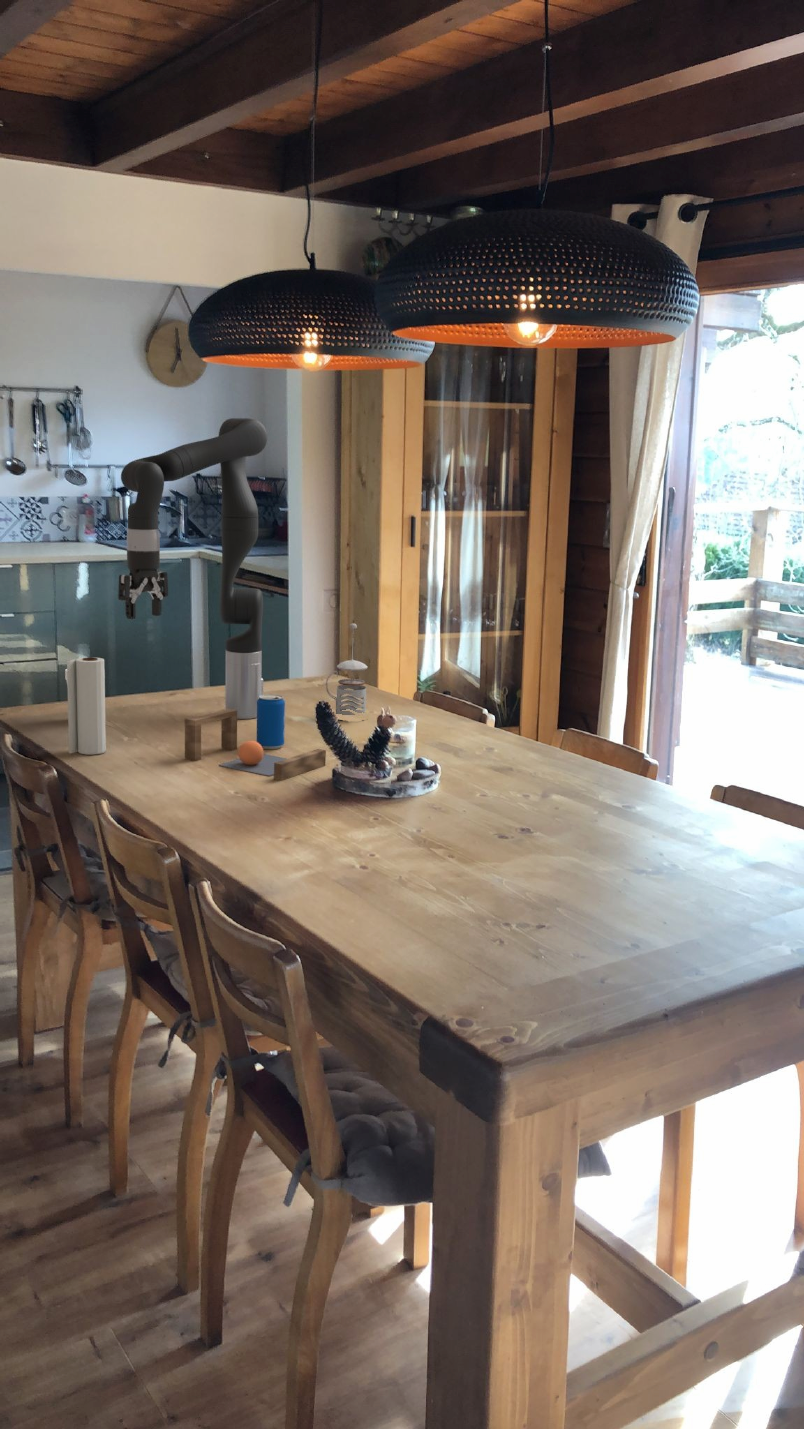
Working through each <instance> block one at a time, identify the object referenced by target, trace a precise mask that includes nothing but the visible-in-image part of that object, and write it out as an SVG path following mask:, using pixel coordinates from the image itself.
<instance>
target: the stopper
mask: <svg viewBox="0 0 804 1429" xmlns="http://www.w3.org/2000/svg"><path fill="white" fill-rule="evenodd" d="M326 752H327V751H326V749H322V748H316V749H313V750H311V751H308V752H307V751H306V752H305V753H304V752H303V753H301V754H297V755H294V756H292V757H289V758H287V759H285V760H282V761H279V762H275V763H274V775H273V779H274V780H277V781H284V780H287V779H291V778H293V777H296V776H299V775H301V774H305V773H307V772H311V771H313V770H316V769H319V768H322V767H325V766H326V758H327V756H326Z"/></svg>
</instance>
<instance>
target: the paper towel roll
mask: <svg viewBox="0 0 804 1429" xmlns="http://www.w3.org/2000/svg"><path fill="white" fill-rule="evenodd" d="M66 669H67V681H66V686H67V685H68V687H67V717H68V718H67V719H68V753H69V754H73V753H76V752H78V753H79V754H82V755H93V756H94V755H101V754H103V753H106V752H107V746H106V745H107V740H106V685H105V684H106V681H105V679H106V672H104V669H105V659H104V658H101V657H92V656H90V657H80V658H79V657H78V658H73V659H71V660H67V661H66Z"/></svg>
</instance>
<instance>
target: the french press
mask: <svg viewBox="0 0 804 1429" xmlns="http://www.w3.org/2000/svg"><path fill="white" fill-rule="evenodd" d="M357 628H358V627H357V624H356V623H350V624H349V629H352V633H354V632H355V631H354V629H357ZM351 645H352V646H351V647H352V648H351V649H352V650H351V653H352V654H351V659H350V660H344V661H342V662H340V663H339V664H337V665H336V668H337V669H339V670H343V671H351V672H354V671H366V670H367V669H368V668H369V667H368V666H367V664H365V663H363V662H361V661H359V660H355V659H354V639H352V643H351ZM333 674H336V677H337V678H338V676H339V671H338V670H334V671H332V672H330V673H329V674H328V676H327V677H326V681H325V689H326V690H325V691H326V693H327V695H328V696H329V697H330V698H332V699H334V700H335V714H342V715H355V714H354V713H352V712H350V711H342V710H346V709H350V710H353V711H355V712H357V713H362V712H363V713H365V712H366V713H367V687H366V686H364V685H365V684H366V681H365V680H362V679H358V678H356V679H355V678H353V677H351V678H342V679H339V680H338V681H337V682H338V684H339V685H338V686H337V688H336V696H335V695H333V694H332V693H331V692H330V691H329V687H328V681H329V678H330V677H331V676H332V675H333ZM344 695H345V696H344ZM360 699H361V700H360ZM360 704H361V705H360ZM356 709H359V710H356Z"/></svg>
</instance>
